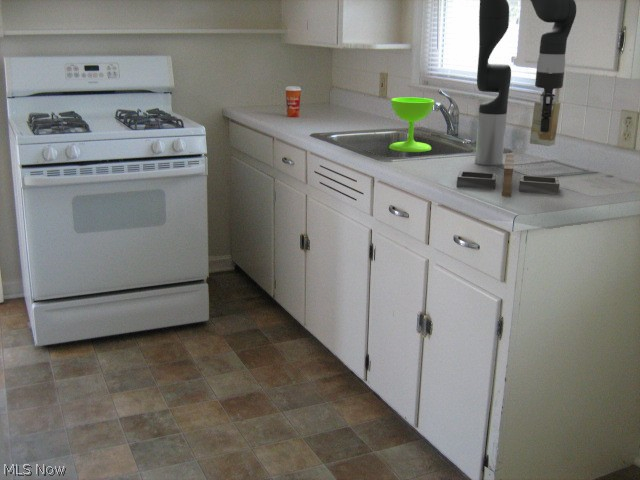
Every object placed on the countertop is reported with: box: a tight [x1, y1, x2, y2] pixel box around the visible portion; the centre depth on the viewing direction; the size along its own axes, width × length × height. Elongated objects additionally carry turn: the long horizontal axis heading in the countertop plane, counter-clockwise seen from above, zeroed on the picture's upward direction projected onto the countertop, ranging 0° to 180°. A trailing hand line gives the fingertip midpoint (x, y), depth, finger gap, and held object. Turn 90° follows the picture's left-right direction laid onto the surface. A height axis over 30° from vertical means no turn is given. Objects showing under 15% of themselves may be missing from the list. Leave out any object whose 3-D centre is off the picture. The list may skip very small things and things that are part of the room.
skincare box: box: [529, 100, 561, 147], centre depth 213 cm, size 6×4×12 cm
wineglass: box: [388, 97, 435, 153], centre depth 277 cm, size 16×16×18 cm
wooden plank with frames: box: [456, 152, 560, 198], centre depth 219 cm, size 24×29×8 cm
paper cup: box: [284, 85, 302, 118], centre depth 354 cm, size 8×8×14 cm
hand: (544, 130), depth 213 cm, fingers closed on skincare box, 5 cm apart
